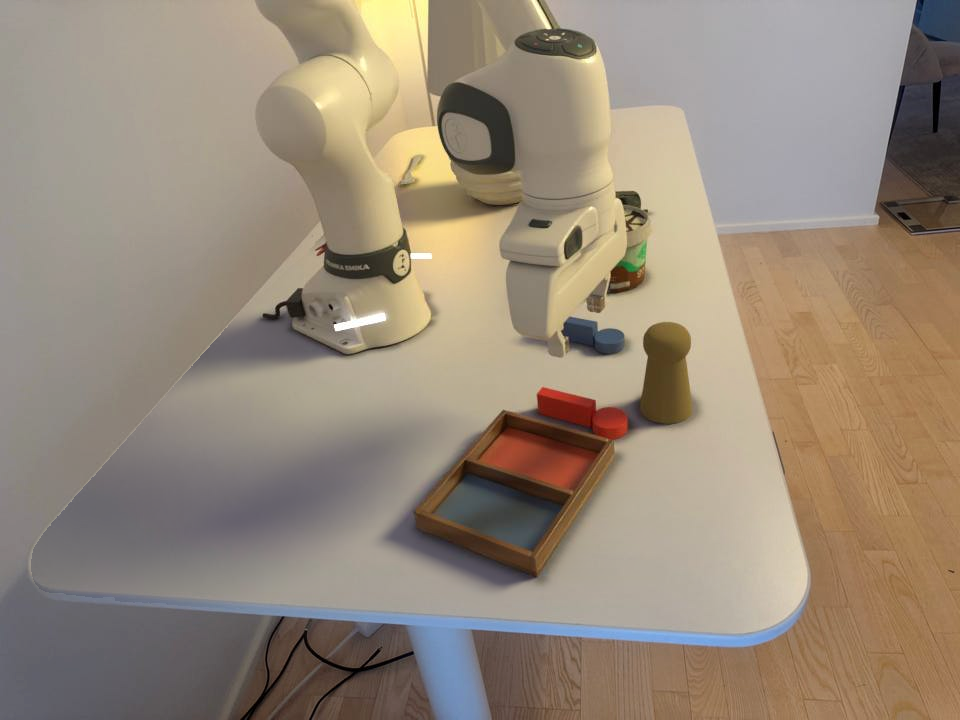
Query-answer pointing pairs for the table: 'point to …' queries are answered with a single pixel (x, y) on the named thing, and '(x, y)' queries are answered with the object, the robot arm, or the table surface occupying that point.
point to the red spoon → (582, 412)
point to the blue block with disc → (593, 335)
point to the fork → (409, 178)
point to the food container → (632, 251)
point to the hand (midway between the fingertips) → (578, 330)
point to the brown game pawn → (666, 374)
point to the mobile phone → (630, 198)
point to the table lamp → (453, 54)
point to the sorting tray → (516, 490)
